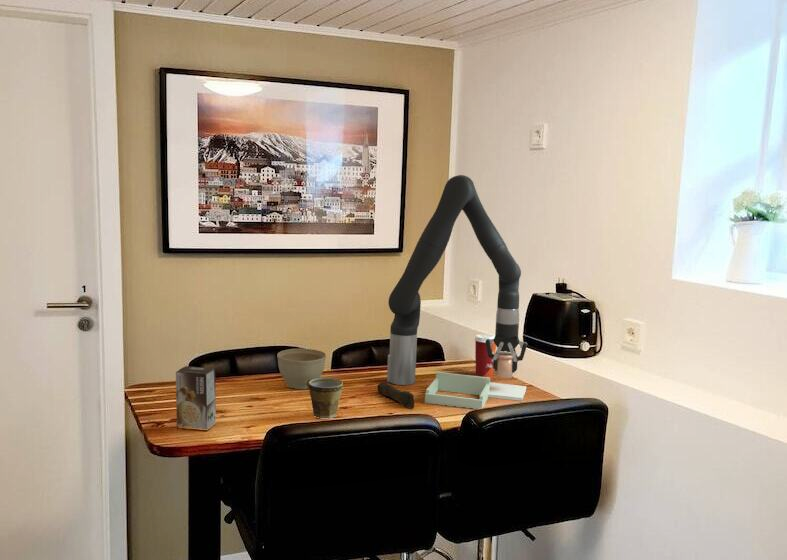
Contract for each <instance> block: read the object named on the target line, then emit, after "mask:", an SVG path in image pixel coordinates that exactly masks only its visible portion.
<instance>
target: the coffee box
mask: <svg viewBox="0 0 787 560" xmlns="http://www.w3.org/2000/svg"><path fill="white" fill-rule="evenodd" d="M175 391H176V392H175V397H176V399H175V400H176V403H175V404H176V427H177V426H182V427H192V428H202V429H208V428H209V427H211V426H212V425H213V424H214V423H215V422H216V423H217V416H216V415H217V414H216V413H217V410H216V409H217V408H216V407H217V405H216V396H217V395H216V368H214V367H211V368H210V367H201V366H200V367H199V366H189V365H185V366H183V367H182V368H180V369H179V370H177V371H175Z"/></svg>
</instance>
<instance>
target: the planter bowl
mask: <svg viewBox="0 0 787 560" xmlns="http://www.w3.org/2000/svg"><path fill="white" fill-rule="evenodd" d="M276 357H277V366H278V369H279V370H278V371H279V373H280V375H281V377H282V378H283V380H284V381H285V383H286V387H288V388H289V387H290V389H292V388H295V389H294V390H308V389H307V388H308V387H307V382H308V380H313V379H318V378H321V376H322V374H323V372H324V370H325V364H326V358H327V353H326V352H324V351H321V350H318V349H312V348H290V349H285V350H281V351H279V352H277V355H276Z"/></svg>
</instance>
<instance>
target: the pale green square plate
mask: <svg viewBox="0 0 787 560" xmlns="http://www.w3.org/2000/svg"><path fill="white" fill-rule="evenodd" d="M526 391H527V386H526V385H516V384H509V383H501V382H491V381H490V389H489V394H488V398H493V399H503V400H508V401H509V400H510V401H519V402H522V401H523V400H524V397H525V393H526ZM481 393H482V392H480V393H479V395H478V396H479V397H480V395H481Z"/></svg>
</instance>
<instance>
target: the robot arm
mask: <svg viewBox="0 0 787 560" xmlns="http://www.w3.org/2000/svg"><path fill="white" fill-rule="evenodd" d="M462 211H463V213H464V214H465V216H466V217H467V219H468V221H469V223H470V225H471V227H472V230H473V233H474V235H475V236H476V238H477V241H478V242H479V245H480V246H481V248H482V249H483V251H484V253H485V254H486V256H487V257H488V259H489V260H490V261H491V264H492V265H493V268H494V269H495V270H496V273H497V274H498V293H497V303H496V304H497V306H496V315H495V329H494V330H495V332H494V333H495V335H494V336H495V338H494V339H487V340H486V348H487V353H488V357H489V358H492V359H493V370H494V371H495V372H497V361H498V357H497V354H499V353H500V352H509V353H511V355H512V356H513V367H512V373H513V374H514V373H516V372H517V370H518V362H519V361H523V359H524V357H525V354H526V350H527V348H528V347H527V346H528V342H527V341H524V342H523V341H522V340H521V341H520V339H519V329H520V328H519V327H520V326H519V324H520V309H519V308H520V292H519V289H520V288H519V287H520V286H519V285H520V278H521V276H522V270H521V268H520V266H519V264H518V263H517V261H516V260H515V258H514V257H513V256H512V253H511V252H510V251H509V249H508V247H507V244H506V242H505V240H504V239H503V238H502V236H501V234H500V233H499V230H498V229H497V228H496V226H495V224H494V223H493V222H492V219H491V218H490V216H489V215H488V213H487V212H486V210H485V208H484V205H483V203H482V202H481V200H480V197H479V194H478V192H477V190H476V188H475V184H474V181H473V180H472V179H471V178H470V177H469V176H468V175H464V174H459V175H455V176H452V177H450V178H449V179H448V180H447V182H446V183H445V185H444V188H443V191H442V194H441V197H440V199H439V202H438V204H437V207H436V209H435V211H434V212H433V215H432V216H431V218H430V219H429V221H428V222H427V225H426V226H425V228H424V229H423V231H422V233H421V234H420V237H419V239H418V241H417V243H416V245H415V247H414V249H413V252H412V253H411V255H410V257H409V258H410V259H409V260H408V263H407V265H406V268H405V269H404V271H403V274H402V275H401V277H400V278H399V280H398V282H397V283H396V285H395V287H394V288H393V289H392V291H391V293H390V294H389V298H388V307H389V310H390V311H391V312H392V314H394V316H393V317H394V318H393V320H392V322H391V324H390V330H389V331H390V332H389V333H390V335H389V354H387V368H386V369H387V370H386V371H387V372H386V383H390V384H393V385H398V386H410V385H413V384H415V383H416V368H417V364H416V363H417V342H418V330H419V329H418V328H419V326H420V318H421V305H422V304H421V303H422V302H421V295H420V293H419V290H420V289H421V287H422V285H423V283H424V281H425V280H426V279H427V278H428V276H429V275H430V274H431V273H432V271H434V269H435V268H436V266H437V265H438V263H439V262H440V260H441V258H442V257H443V255H444V252H445V250H446V248H447V246H448V243H449V241H450V238H451V236H452V232H453V228H454V226H455V223H456V221H457V219H458V218H459V215H460V214H461V212H462ZM493 342H494V343H495V345H496V348H497V349H496V351H495V354H492V348H491V346H492V344H493ZM518 345H519V348H520V350H521V351H520V354H519V355H517V350H516V348H517V347H518Z"/></svg>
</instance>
